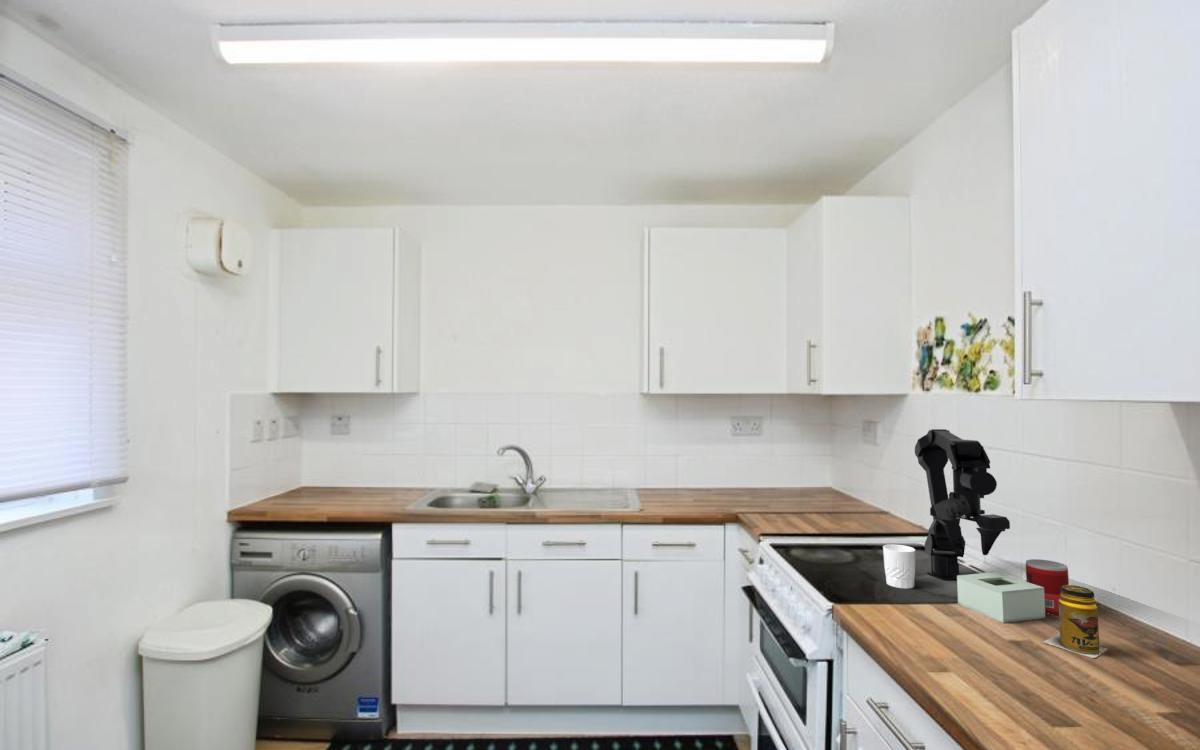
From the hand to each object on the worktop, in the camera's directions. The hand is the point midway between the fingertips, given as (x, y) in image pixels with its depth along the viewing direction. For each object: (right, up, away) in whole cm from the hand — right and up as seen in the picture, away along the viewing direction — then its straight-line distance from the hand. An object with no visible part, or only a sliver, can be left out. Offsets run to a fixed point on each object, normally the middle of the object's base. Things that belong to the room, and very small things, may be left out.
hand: (968, 550), depth 141 cm
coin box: (+1, -12, -10) cm, 15 cm away
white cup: (-12, -13, +10) cm, 20 cm away
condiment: (+2, -11, -29) cm, 31 cm away
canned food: (+13, -12, -9) cm, 20 cm away
